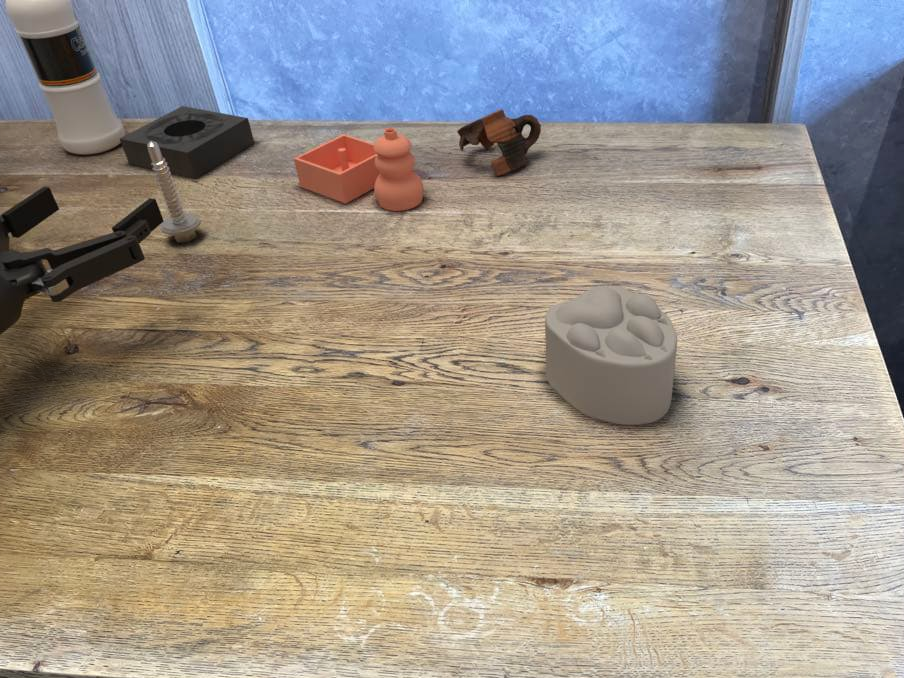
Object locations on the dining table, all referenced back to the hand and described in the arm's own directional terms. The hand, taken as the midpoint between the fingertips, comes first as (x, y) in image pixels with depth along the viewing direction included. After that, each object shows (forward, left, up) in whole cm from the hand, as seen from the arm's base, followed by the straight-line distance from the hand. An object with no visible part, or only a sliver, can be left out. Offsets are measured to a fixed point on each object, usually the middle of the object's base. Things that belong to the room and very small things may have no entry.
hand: (103, 203), depth 90 cm
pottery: (+13, +30, -11) cm, 35 cm away
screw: (-2, +10, -11) cm, 15 cm away
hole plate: (-19, +30, -10) cm, 37 cm away
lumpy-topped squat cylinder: (+59, +4, -11) cm, 60 cm away
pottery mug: (+26, +45, -11) cm, 53 cm away
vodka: (-36, +27, -11) cm, 47 cm away
